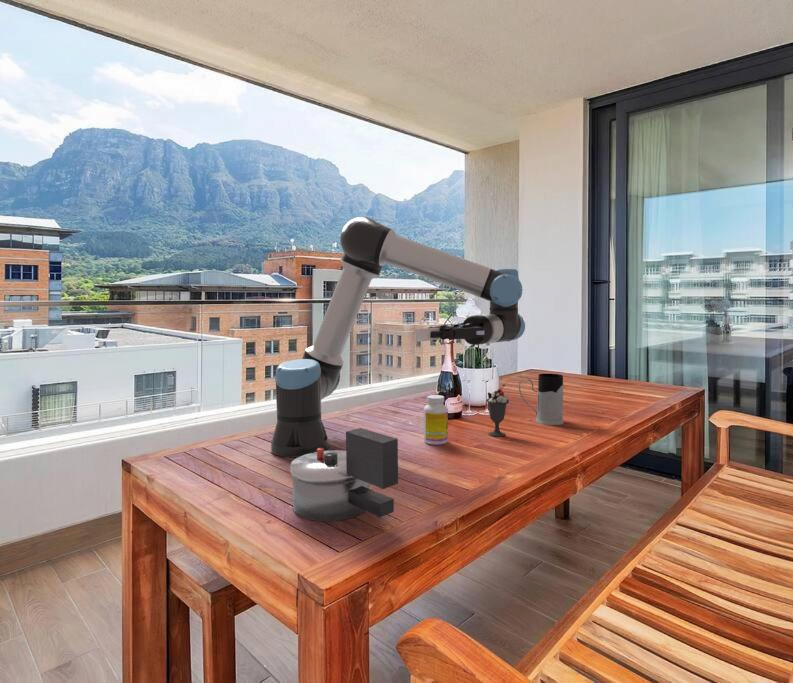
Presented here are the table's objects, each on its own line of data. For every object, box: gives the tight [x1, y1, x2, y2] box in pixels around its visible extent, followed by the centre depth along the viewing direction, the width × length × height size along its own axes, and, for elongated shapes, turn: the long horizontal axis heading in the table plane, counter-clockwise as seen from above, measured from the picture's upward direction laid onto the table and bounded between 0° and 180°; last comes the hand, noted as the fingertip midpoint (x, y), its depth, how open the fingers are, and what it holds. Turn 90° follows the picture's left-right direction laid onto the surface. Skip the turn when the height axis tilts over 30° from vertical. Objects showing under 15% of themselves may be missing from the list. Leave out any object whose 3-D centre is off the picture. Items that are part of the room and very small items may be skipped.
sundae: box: [485, 384, 510, 438], centre depth 148 cm, size 7×7×15 cm
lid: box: [289, 427, 399, 490], centre depth 96 cm, size 25×16×9 cm, turn 44°
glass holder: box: [518, 373, 565, 426], centre depth 163 cm, size 9×14×15 cm, turn 70°
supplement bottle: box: [423, 394, 449, 446], centre depth 141 cm, size 7×7×13 cm
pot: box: [291, 475, 395, 522], centre depth 98 cm, size 26×15×7 cm, turn 44°
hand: (417, 335), depth 115 cm, fingers closed
